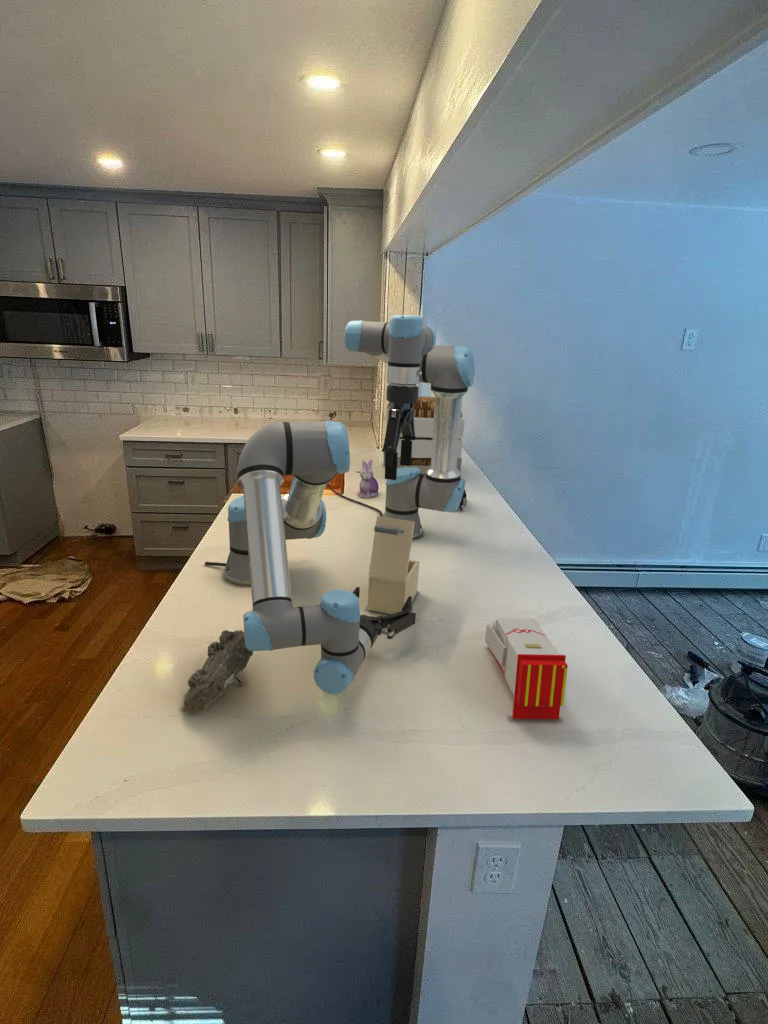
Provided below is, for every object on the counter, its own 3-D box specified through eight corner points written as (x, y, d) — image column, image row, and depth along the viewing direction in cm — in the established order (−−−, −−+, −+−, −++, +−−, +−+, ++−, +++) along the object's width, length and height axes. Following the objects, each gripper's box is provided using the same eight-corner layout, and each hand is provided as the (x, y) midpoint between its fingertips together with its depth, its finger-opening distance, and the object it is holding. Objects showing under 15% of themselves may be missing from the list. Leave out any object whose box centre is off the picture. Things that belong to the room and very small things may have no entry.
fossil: (205, 632, 127) (252, 602, 122) (234, 661, 130) (282, 632, 125) (161, 704, 108) (216, 672, 103) (197, 736, 111) (252, 705, 106)
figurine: (363, 499, 233) (364, 464, 228) (353, 492, 242) (354, 458, 236) (383, 497, 237) (385, 462, 232) (373, 490, 246) (374, 456, 241)
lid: (378, 516, 146) (368, 515, 137) (414, 521, 143) (407, 520, 135) (369, 575, 146) (359, 577, 137) (406, 581, 143) (397, 584, 135)
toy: (531, 603, 136) (576, 661, 106) (526, 655, 139) (569, 725, 109) (481, 602, 135) (512, 660, 106) (477, 654, 138) (507, 724, 109)
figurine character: (467, 515, 225) (461, 499, 238) (469, 498, 221) (463, 482, 235) (450, 514, 224) (445, 498, 238) (452, 497, 221) (447, 482, 234)
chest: (383, 586, 162) (385, 555, 159) (417, 592, 159) (419, 561, 156) (367, 609, 149) (368, 577, 146) (403, 616, 146) (405, 583, 143)
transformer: (382, 463, 289) (386, 382, 275) (445, 464, 293) (451, 384, 279) (390, 482, 257) (394, 392, 243) (460, 483, 261) (468, 394, 247)
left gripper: (302, 643, 127) (337, 601, 147) (410, 666, 121) (431, 618, 140) (302, 614, 125) (337, 574, 144) (412, 636, 118) (433, 591, 138)
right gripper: (404, 392, 120) (399, 487, 128) (430, 380, 143) (424, 461, 150) (371, 389, 122) (367, 483, 130) (401, 378, 145) (397, 458, 152)
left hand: (383, 596), depth 142 cm, fingers open, 13 cm apart
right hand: (398, 472), depth 140 cm, fingers open, 13 cm apart
